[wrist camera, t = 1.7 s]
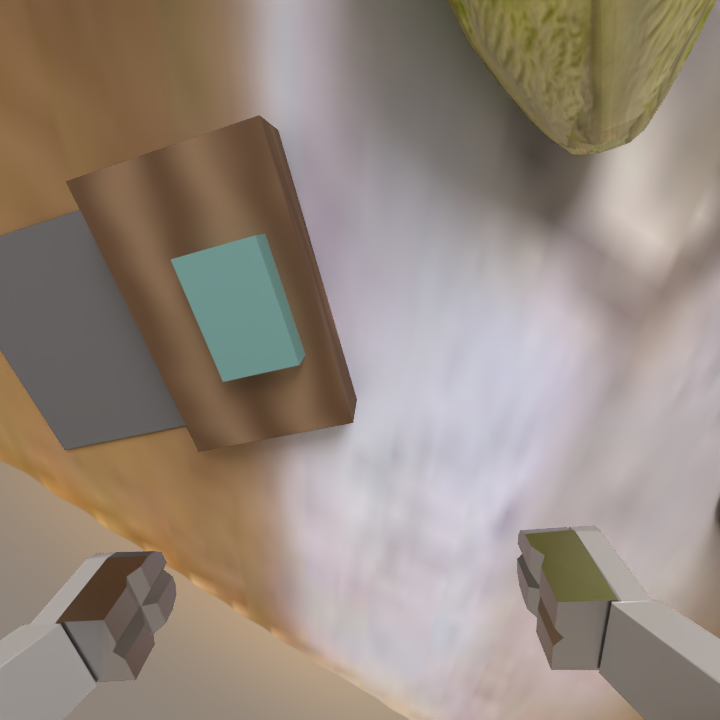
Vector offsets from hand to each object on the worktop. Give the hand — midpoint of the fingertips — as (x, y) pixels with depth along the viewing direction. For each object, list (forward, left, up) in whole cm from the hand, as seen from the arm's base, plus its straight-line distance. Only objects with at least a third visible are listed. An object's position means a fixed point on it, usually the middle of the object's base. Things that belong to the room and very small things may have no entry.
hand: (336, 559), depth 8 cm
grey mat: (+26, -3, -24) cm, 36 cm away
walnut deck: (+10, -3, -24) cm, 26 cm away
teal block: (+8, -3, -20) cm, 22 cm away
